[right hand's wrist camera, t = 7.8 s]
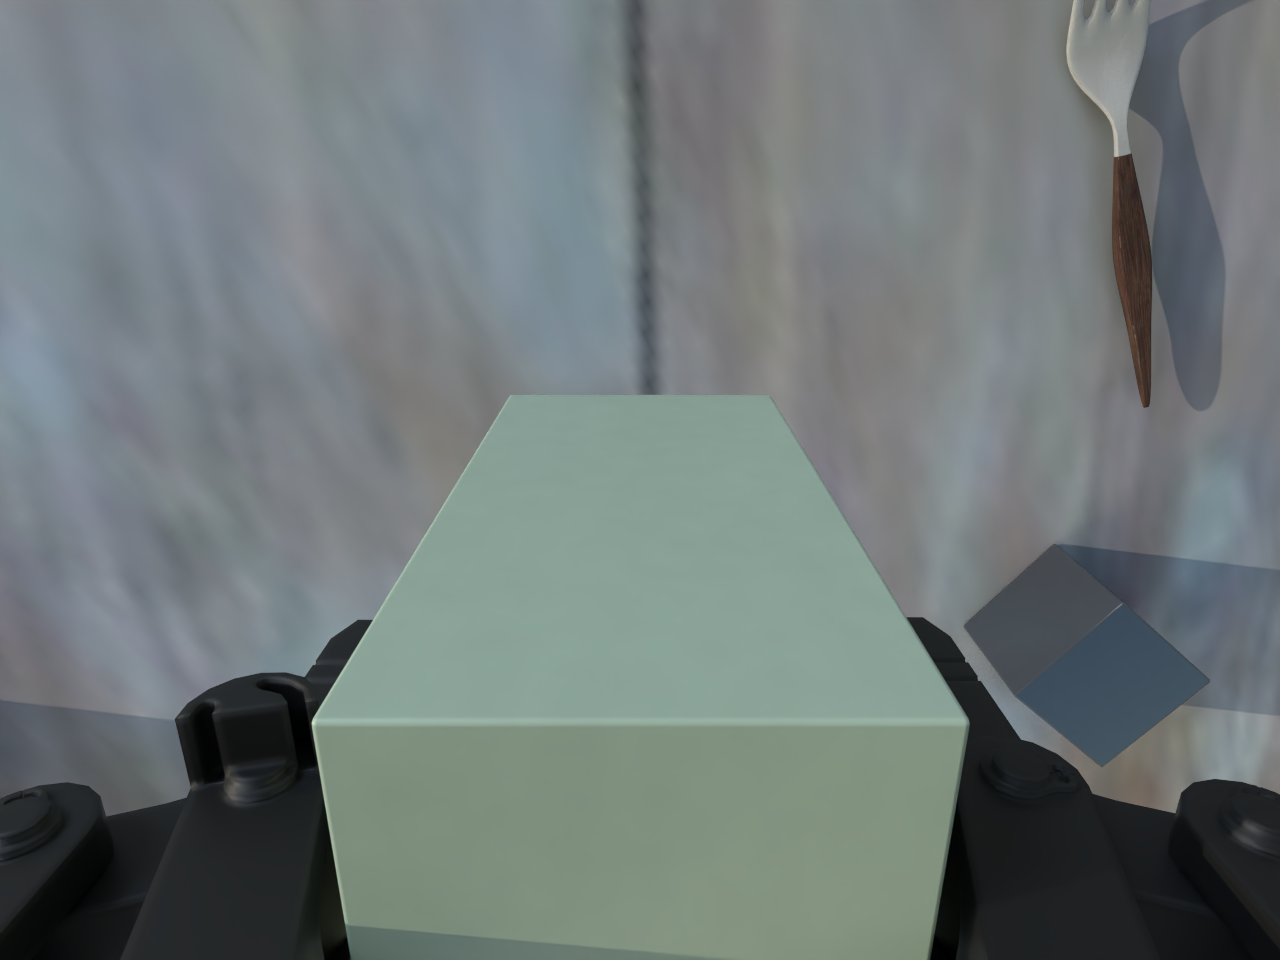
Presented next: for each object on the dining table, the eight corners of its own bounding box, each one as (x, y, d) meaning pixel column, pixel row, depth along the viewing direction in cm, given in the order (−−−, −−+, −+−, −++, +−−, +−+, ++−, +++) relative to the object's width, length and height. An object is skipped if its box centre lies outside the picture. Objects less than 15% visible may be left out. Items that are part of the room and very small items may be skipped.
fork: (1102, 413, 31) (1133, 428, 29) (1052, -56, 25) (1084, -75, 24) (1173, 394, 30) (1208, 407, 29) (1136, -84, 25) (1176, -106, 23)
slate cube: (1054, 542, 33) (1123, 602, 28) (1132, 612, 34) (1212, 681, 29) (962, 625, 34) (1014, 696, 29) (1040, 690, 35) (1102, 768, 30)
